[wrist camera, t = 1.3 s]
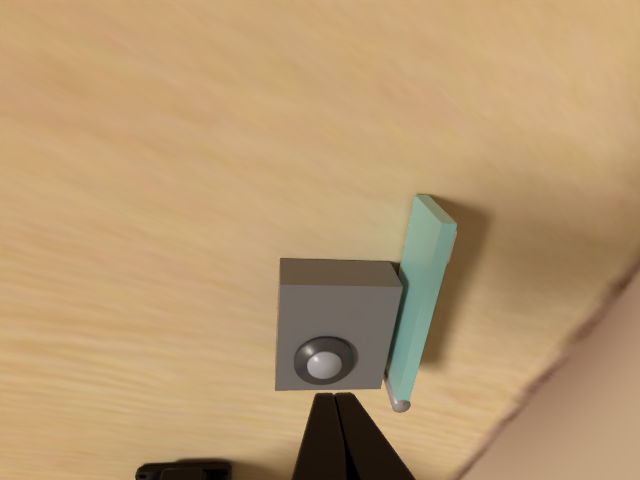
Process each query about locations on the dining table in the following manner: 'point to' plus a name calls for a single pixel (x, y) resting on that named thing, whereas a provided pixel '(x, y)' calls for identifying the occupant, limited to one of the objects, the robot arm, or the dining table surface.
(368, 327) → the camera body
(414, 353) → the side door
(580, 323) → the dining table surface
